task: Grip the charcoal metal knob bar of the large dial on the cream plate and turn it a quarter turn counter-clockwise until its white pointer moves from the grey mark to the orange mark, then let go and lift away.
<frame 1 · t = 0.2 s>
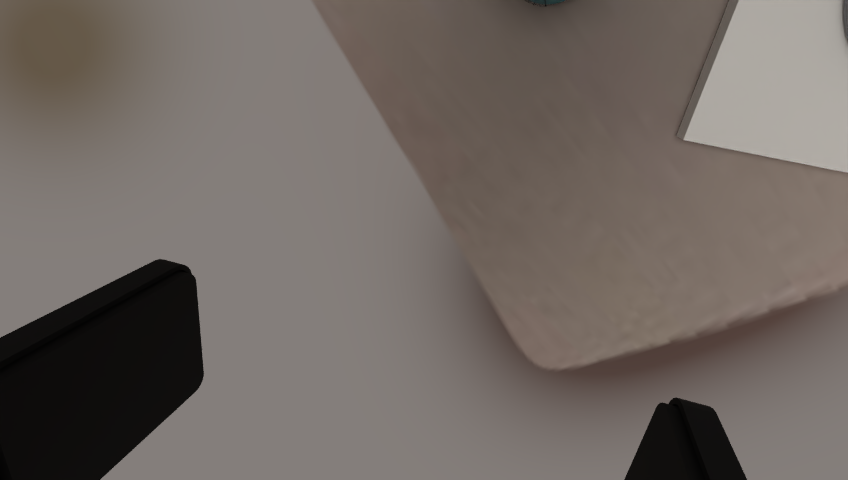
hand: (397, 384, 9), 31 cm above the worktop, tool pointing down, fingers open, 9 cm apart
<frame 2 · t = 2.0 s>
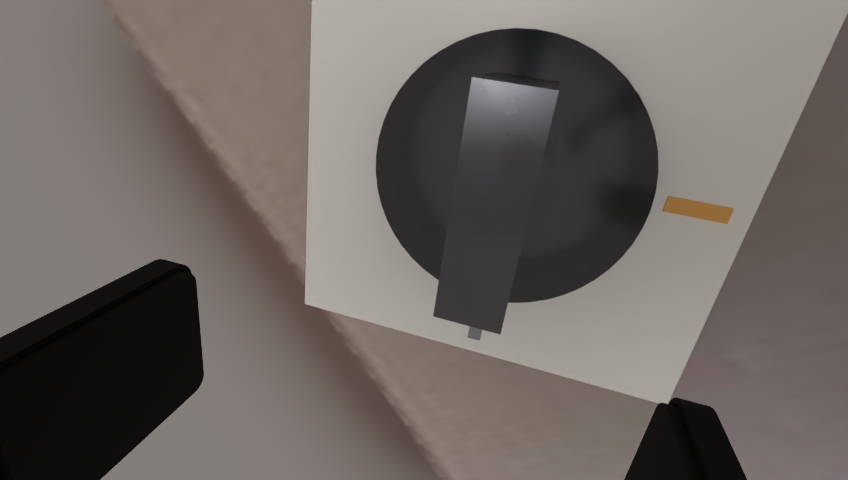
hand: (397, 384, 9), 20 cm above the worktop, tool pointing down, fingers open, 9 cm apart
dial plate: (512, 164, 26), on the worktop
dial: (499, 192, 21), point 6 cm above the worktop, hinge at 0.0°
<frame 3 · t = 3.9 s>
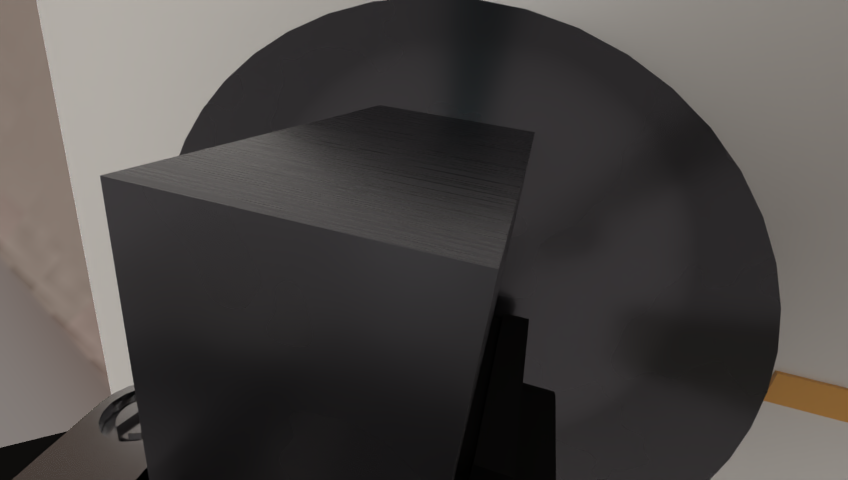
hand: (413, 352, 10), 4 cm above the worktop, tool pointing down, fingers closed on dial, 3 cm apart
dial plate: (453, 269, 14), on the worktop
dial: (389, 401, 8), point 6 cm above the worktop, hinge at 0.0°, touching gripper
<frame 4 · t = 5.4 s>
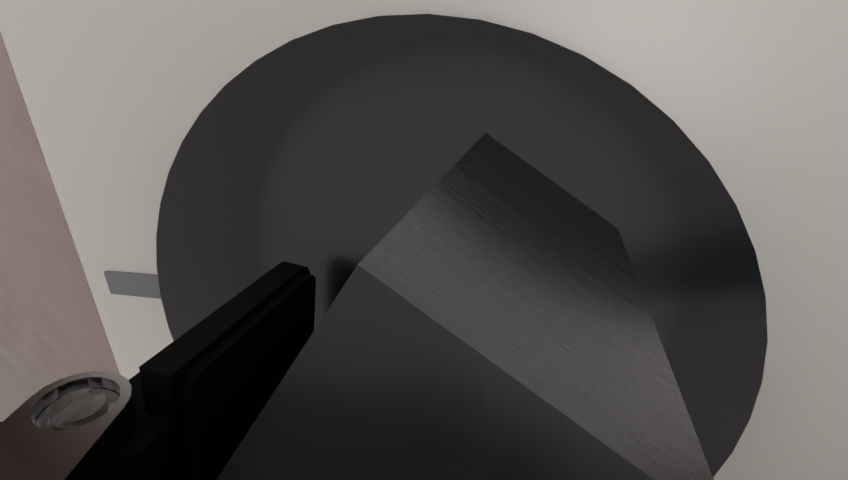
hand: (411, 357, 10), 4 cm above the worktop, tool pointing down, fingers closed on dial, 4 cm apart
dial plate: (446, 278, 14), on the worktop
dial: (378, 415, 8), point 6 cm above the worktop, hinge at 54.0°, touching gripper
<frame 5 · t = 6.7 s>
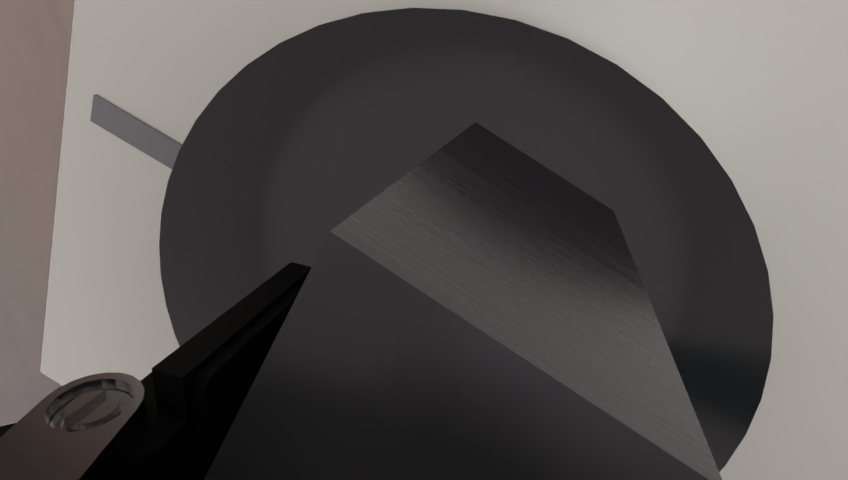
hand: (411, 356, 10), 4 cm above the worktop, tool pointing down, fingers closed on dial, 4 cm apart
dial plate: (449, 275, 14), on the worktop
dial: (383, 410, 8), point 6 cm above the worktop, hinge at 86.8°, touching gripper
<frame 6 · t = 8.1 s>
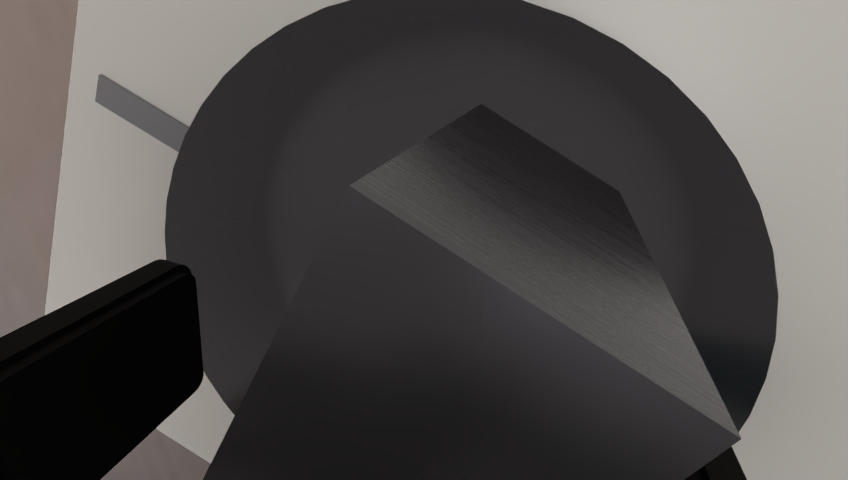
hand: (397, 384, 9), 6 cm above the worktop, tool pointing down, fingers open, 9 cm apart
dial plate: (453, 263, 14), on the worktop
dial: (390, 391, 9), point 6 cm above the worktop, hinge at 88.0°
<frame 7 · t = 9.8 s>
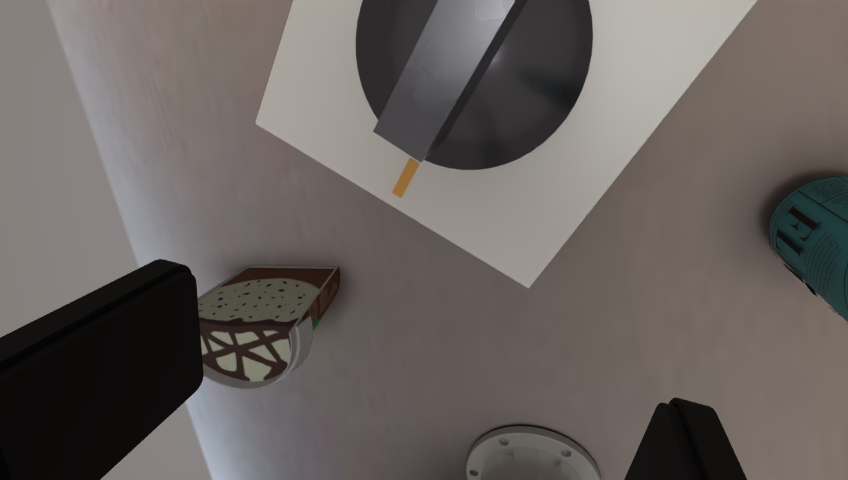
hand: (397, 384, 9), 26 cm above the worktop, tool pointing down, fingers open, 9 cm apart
dial plate: (476, 52, 30), on the worktop
beverage bottle: (814, 214, 29), on the worktop
food container: (300, 293, 42), on the worktop
dial: (459, 55, 25), point 6 cm above the worktop, hinge at 88.0°
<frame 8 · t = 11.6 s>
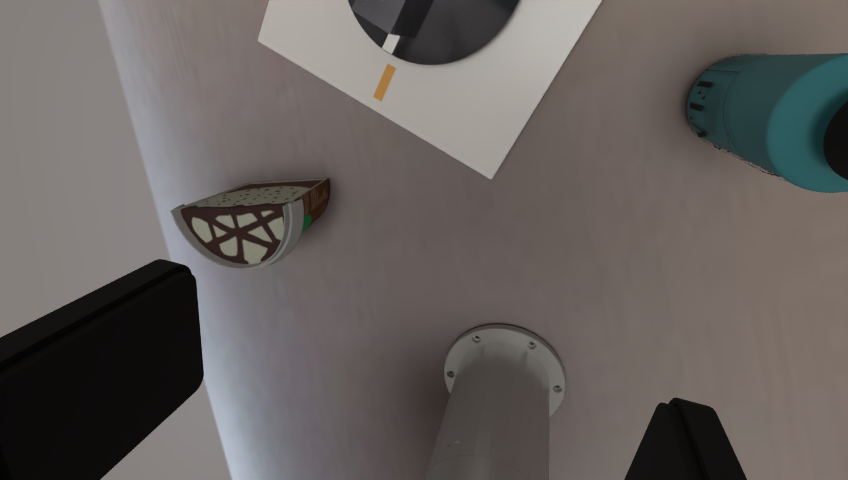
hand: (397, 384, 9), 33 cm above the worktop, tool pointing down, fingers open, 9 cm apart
beverage bottle: (726, 99, 34), on the worktop
food container: (295, 208, 48), on the worktop
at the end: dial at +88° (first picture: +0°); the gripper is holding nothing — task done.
